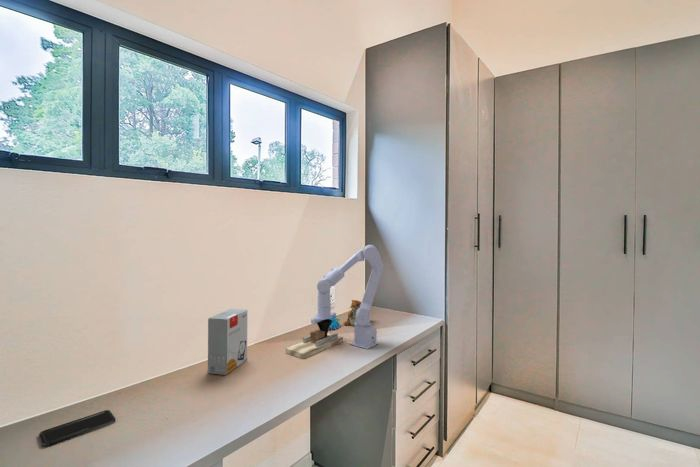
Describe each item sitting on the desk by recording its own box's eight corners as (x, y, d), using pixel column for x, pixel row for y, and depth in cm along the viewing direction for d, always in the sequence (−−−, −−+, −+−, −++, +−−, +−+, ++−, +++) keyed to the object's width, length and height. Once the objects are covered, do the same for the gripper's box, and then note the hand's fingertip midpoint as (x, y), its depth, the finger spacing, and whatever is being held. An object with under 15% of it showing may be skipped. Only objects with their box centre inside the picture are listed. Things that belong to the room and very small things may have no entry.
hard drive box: (226, 376, 123) (226, 319, 122) (207, 374, 124) (206, 318, 124) (248, 359, 138) (247, 308, 137) (230, 357, 140) (230, 307, 139)
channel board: (343, 341, 159) (343, 332, 158) (302, 358, 138) (302, 348, 138) (326, 337, 165) (326, 328, 165) (285, 353, 144) (285, 343, 144)
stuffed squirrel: (342, 325, 183) (342, 300, 182) (355, 319, 195) (355, 295, 194) (358, 328, 178) (359, 303, 177) (371, 322, 190) (371, 297, 189)
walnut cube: (324, 341, 153) (324, 331, 153) (317, 344, 149) (317, 333, 149) (317, 339, 156) (317, 329, 155) (310, 341, 152) (310, 331, 152)
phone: (38, 432, 88) (108, 409, 99) (38, 436, 89) (108, 412, 100) (42, 445, 83) (116, 419, 94) (42, 450, 83) (116, 424, 94)
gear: (328, 328, 172) (320, 311, 177) (322, 335, 175) (315, 318, 180) (344, 327, 179) (337, 311, 185) (338, 333, 182) (331, 317, 188)
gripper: (328, 301, 164) (328, 330, 164) (306, 307, 152) (306, 338, 152) (339, 304, 159) (339, 333, 160) (318, 310, 148) (318, 342, 148)
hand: (324, 336), depth 156 cm, fingers closed
